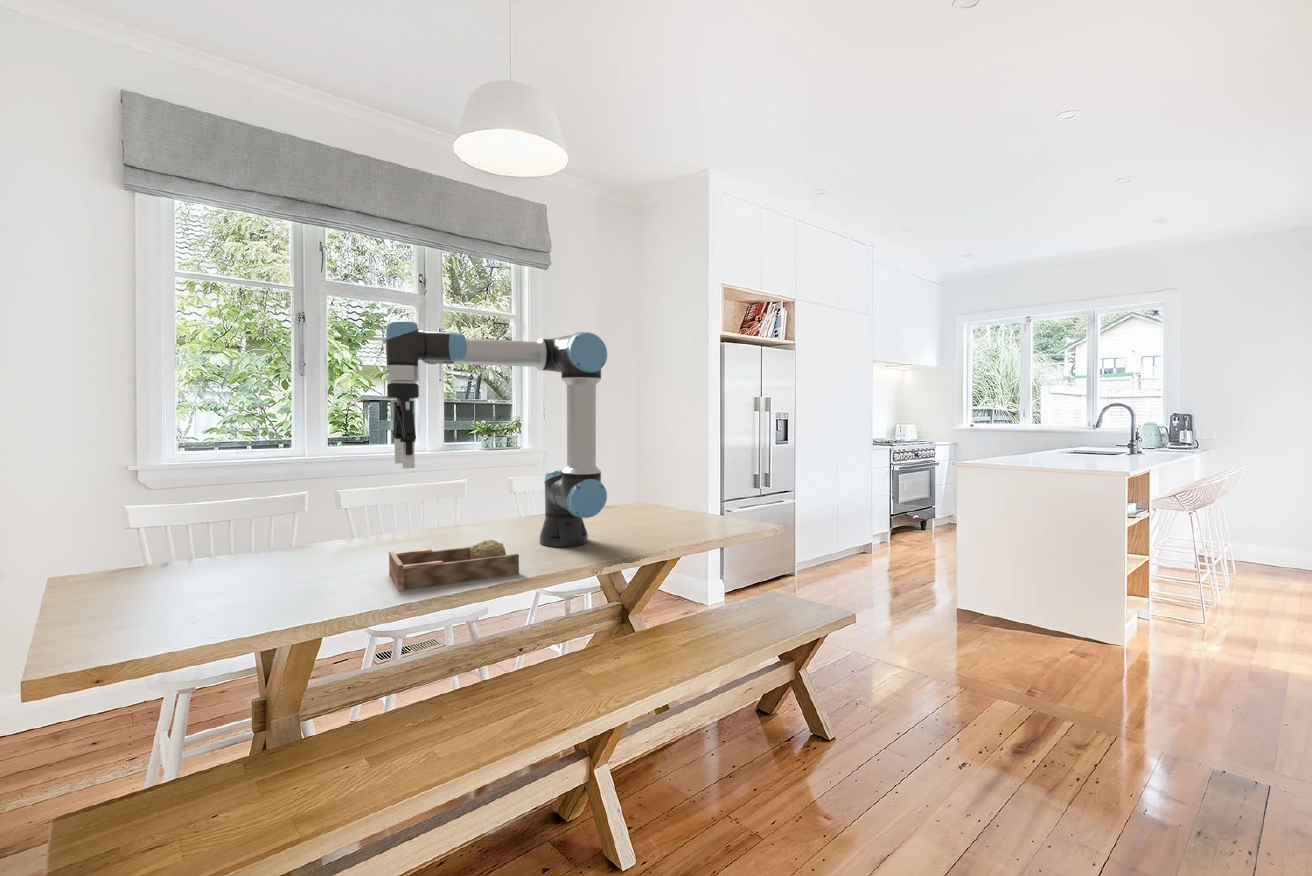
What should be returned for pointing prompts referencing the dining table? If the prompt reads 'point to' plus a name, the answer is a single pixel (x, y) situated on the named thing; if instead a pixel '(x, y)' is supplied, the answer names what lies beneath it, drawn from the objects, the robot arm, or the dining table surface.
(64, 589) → the dining table surface
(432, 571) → the tray
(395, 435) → the robot arm
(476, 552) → the coral
